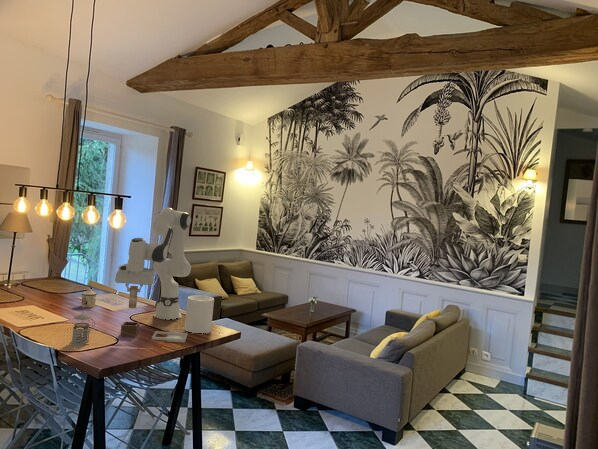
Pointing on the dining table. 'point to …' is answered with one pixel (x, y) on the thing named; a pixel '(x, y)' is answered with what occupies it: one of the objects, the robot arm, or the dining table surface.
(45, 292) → the dining table surface
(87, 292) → the teacup with lid
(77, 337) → the french press
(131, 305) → the dowel
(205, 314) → the canister
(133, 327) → the pen pot
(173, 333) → the tray
